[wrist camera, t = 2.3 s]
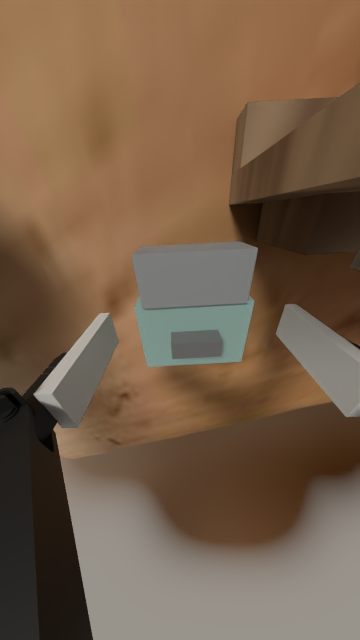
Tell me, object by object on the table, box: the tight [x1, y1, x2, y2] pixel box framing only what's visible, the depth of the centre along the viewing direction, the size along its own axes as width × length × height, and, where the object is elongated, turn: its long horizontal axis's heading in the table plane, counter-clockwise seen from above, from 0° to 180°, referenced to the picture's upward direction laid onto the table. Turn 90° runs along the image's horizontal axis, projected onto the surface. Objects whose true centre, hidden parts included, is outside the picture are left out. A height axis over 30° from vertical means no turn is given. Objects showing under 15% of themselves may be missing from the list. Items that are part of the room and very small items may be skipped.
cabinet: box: [132, 241, 258, 367], centre depth 13 cm, size 7×9×10 cm
